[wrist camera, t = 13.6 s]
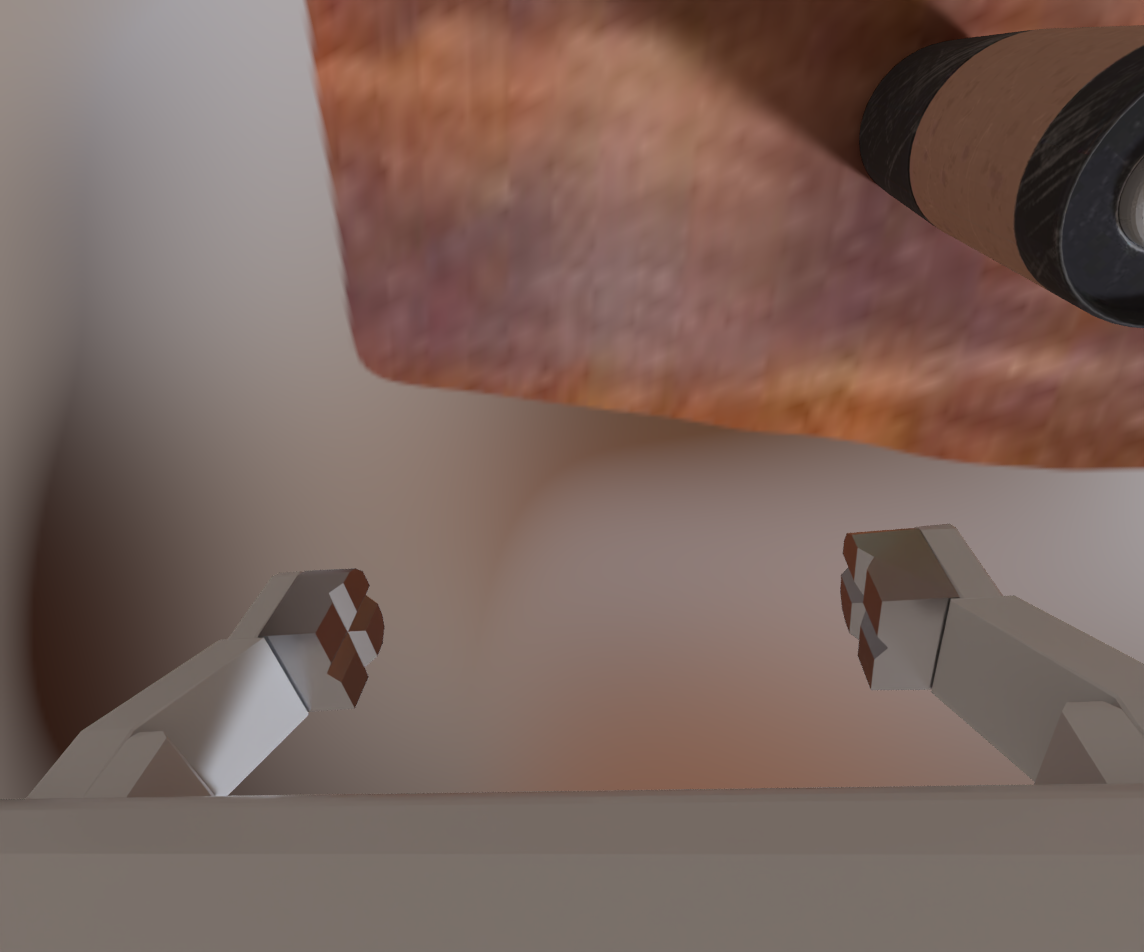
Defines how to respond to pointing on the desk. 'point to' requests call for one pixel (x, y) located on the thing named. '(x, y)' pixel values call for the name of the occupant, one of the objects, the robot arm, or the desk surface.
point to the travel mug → (1026, 155)
